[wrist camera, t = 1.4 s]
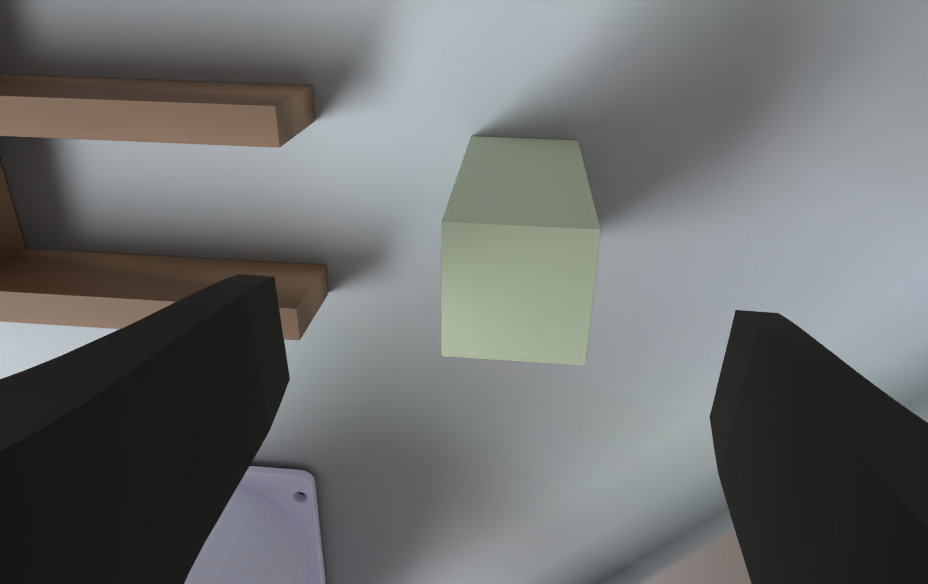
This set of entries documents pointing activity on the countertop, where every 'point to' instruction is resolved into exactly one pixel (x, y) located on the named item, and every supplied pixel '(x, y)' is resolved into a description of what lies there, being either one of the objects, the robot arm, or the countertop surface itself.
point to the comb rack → (143, 120)
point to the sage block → (519, 253)
